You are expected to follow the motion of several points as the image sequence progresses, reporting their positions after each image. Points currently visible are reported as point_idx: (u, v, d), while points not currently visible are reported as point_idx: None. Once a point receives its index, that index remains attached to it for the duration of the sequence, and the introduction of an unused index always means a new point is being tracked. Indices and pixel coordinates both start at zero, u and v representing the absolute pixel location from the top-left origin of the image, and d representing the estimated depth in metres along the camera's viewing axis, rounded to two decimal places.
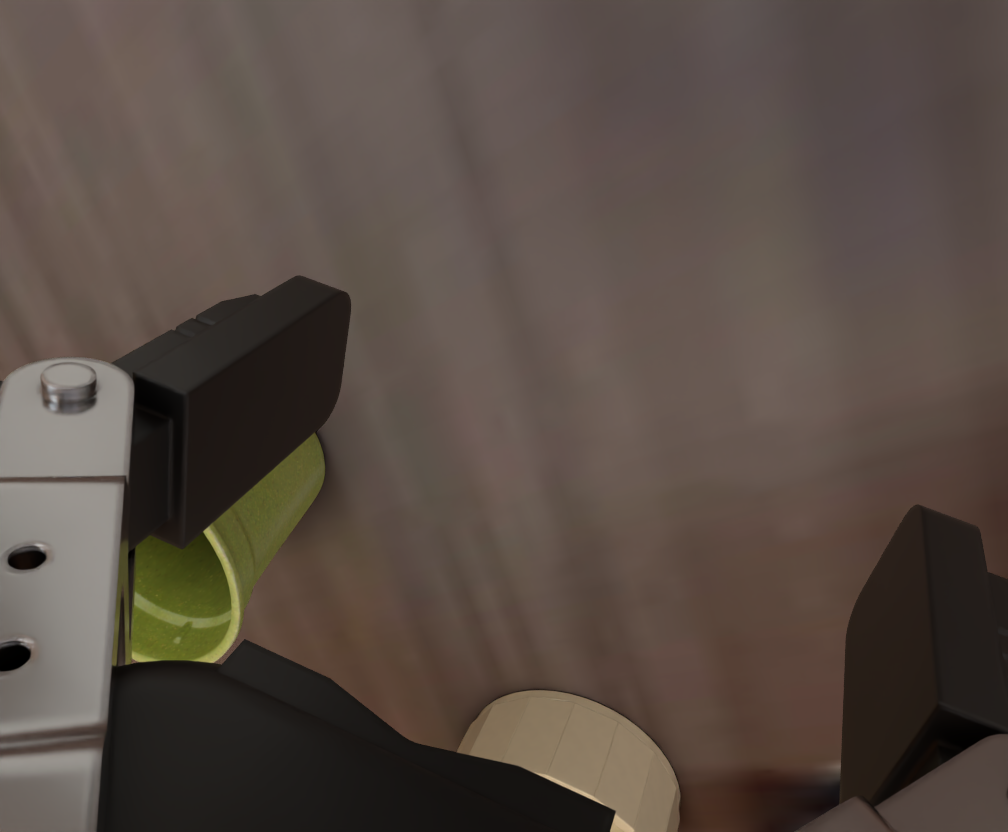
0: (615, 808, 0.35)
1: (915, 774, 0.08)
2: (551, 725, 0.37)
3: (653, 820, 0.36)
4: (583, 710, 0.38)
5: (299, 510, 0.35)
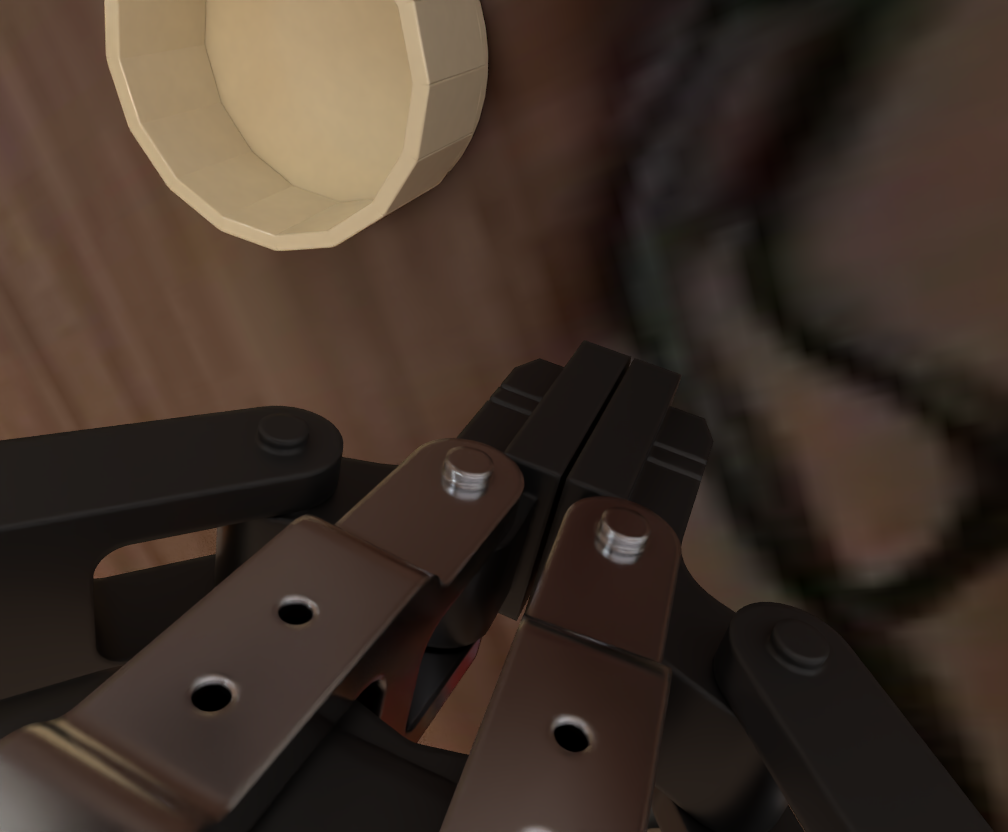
0: None
1: None
2: None
3: None
4: None
5: None
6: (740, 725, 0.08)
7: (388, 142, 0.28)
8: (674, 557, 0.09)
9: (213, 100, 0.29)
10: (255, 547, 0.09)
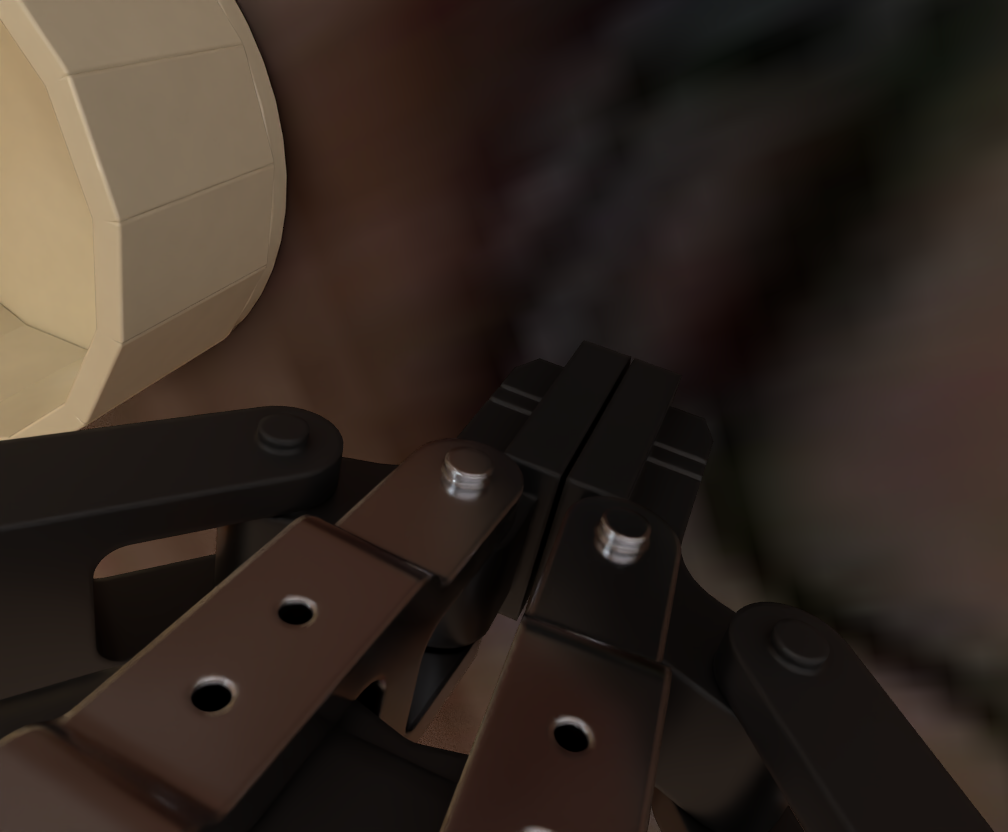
0: None
1: None
2: None
3: None
4: None
5: None
6: (740, 725, 0.08)
7: None
8: (674, 557, 0.09)
9: None
10: (255, 547, 0.09)
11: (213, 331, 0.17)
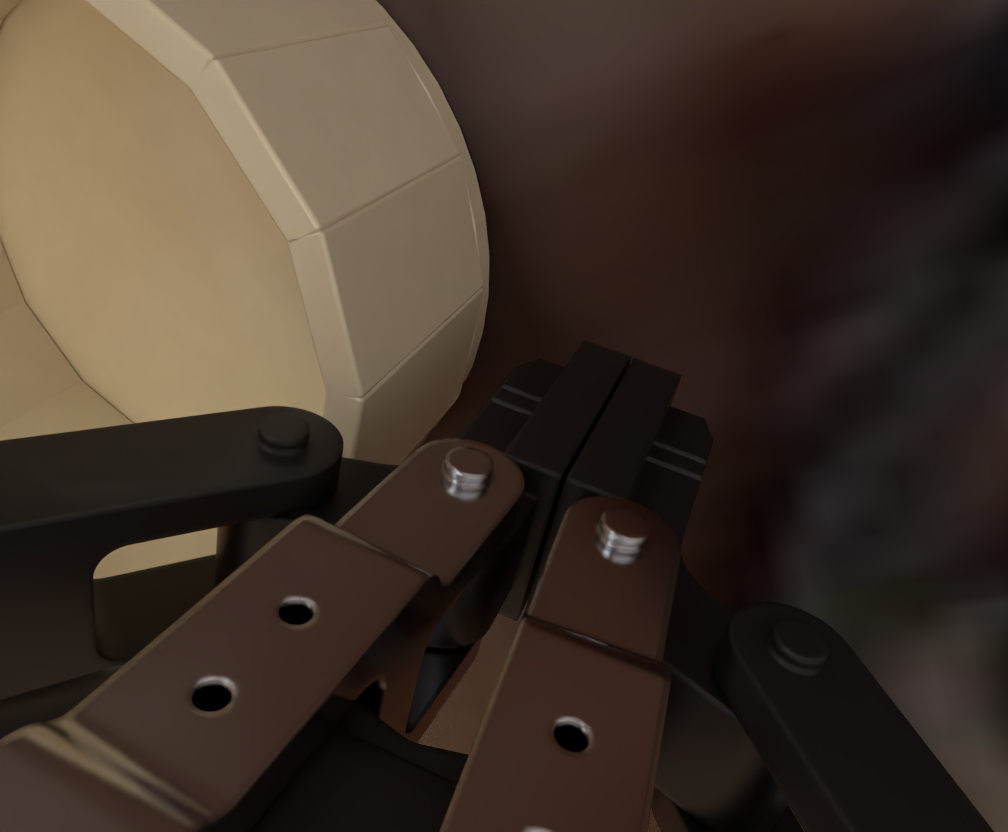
0: None
1: None
2: None
3: (334, 125, 0.10)
4: None
5: None
6: (740, 725, 0.08)
7: (308, 393, 0.16)
8: (674, 557, 0.09)
9: (7, 302, 0.17)
10: (255, 547, 0.09)
11: None
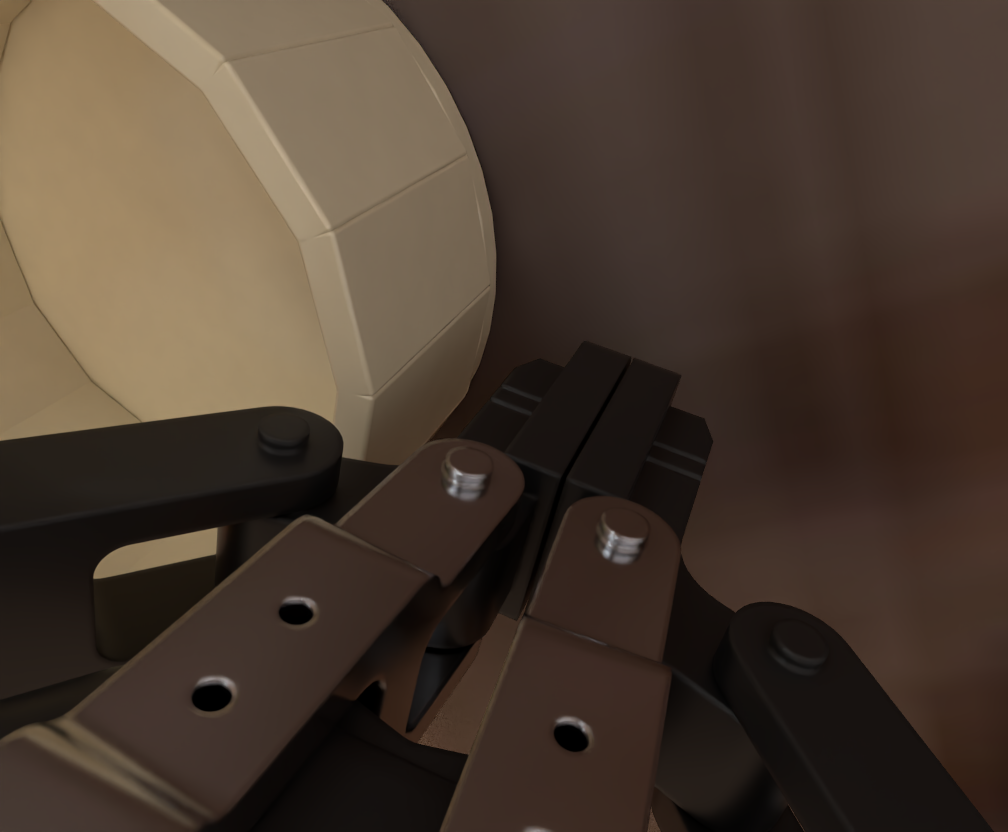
0: None
1: None
2: None
3: (343, 125, 0.10)
4: None
5: None
6: (740, 725, 0.08)
7: (316, 391, 0.16)
8: (674, 557, 0.09)
9: (17, 303, 0.17)
10: (255, 547, 0.09)
11: None
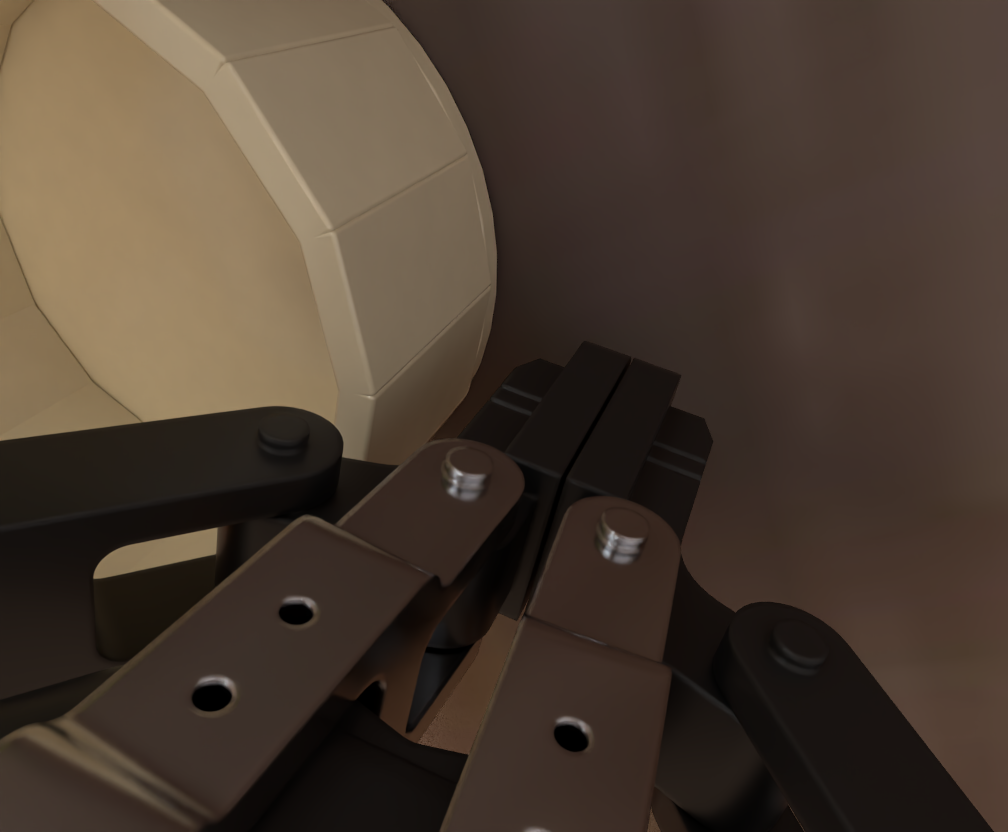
0: None
1: None
2: None
3: (344, 125, 0.10)
4: None
5: None
6: (740, 725, 0.08)
7: (317, 391, 0.16)
8: (674, 557, 0.09)
9: (18, 304, 0.17)
10: (255, 547, 0.09)
11: None
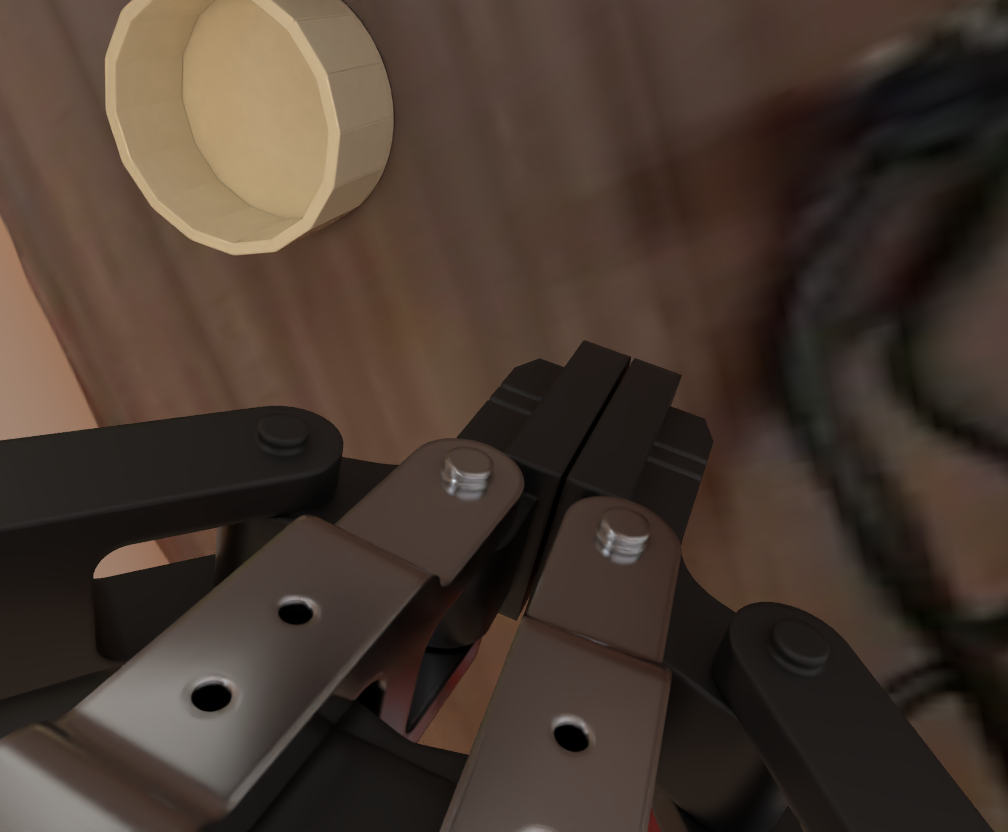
0: (275, 0, 0.31)
1: None
2: None
3: (331, 44, 0.32)
4: None
5: None
6: (740, 725, 0.08)
7: (321, 173, 0.37)
8: (674, 557, 0.09)
9: (188, 141, 0.38)
10: (255, 547, 0.09)
11: (357, 197, 0.36)
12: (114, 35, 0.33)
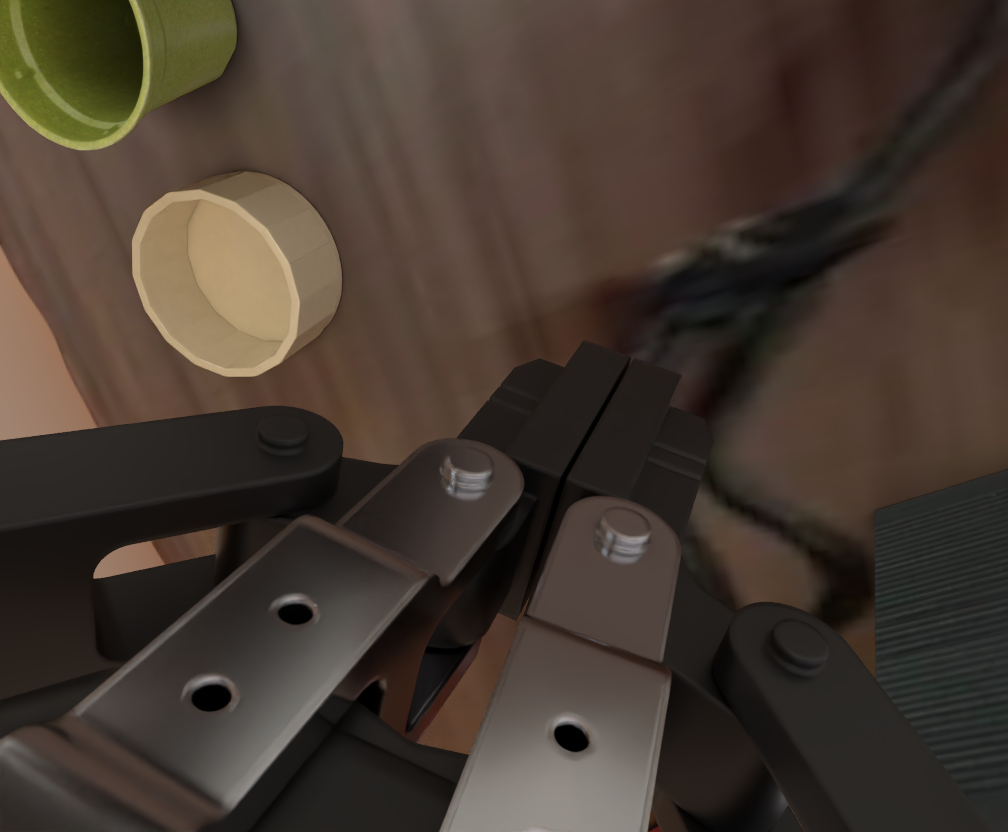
0: (252, 213, 0.44)
1: None
2: (221, 178, 0.46)
3: (293, 238, 0.45)
4: (251, 175, 0.47)
5: (210, 43, 0.42)
6: (740, 725, 0.08)
7: (290, 311, 0.50)
8: (674, 557, 0.09)
9: (192, 284, 0.51)
10: (255, 547, 0.09)
11: (316, 333, 0.49)
12: (139, 226, 0.46)
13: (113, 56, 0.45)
